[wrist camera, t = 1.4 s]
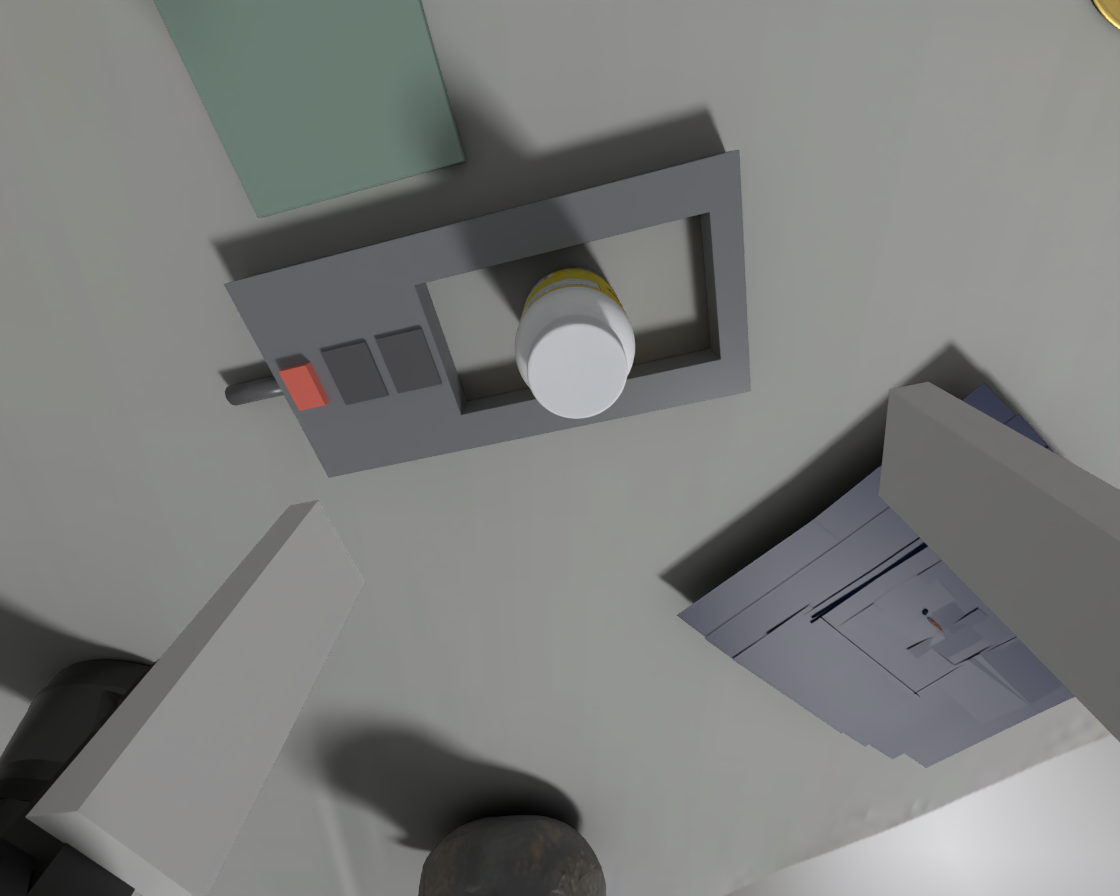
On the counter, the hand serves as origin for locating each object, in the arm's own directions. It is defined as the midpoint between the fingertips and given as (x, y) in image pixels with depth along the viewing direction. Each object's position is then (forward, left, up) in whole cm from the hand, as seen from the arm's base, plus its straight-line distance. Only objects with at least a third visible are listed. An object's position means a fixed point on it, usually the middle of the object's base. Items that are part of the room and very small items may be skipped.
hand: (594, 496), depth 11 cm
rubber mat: (-9, +14, -18) cm, 25 cm away
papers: (+21, -28, -19) cm, 40 cm away
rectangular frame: (-4, 0, -18) cm, 19 cm away
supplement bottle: (0, 0, -19) cm, 19 cm away
